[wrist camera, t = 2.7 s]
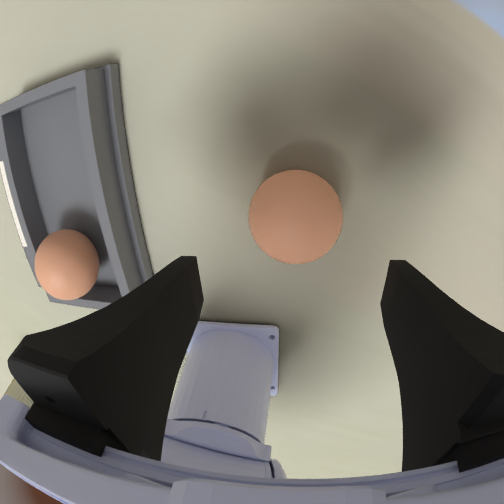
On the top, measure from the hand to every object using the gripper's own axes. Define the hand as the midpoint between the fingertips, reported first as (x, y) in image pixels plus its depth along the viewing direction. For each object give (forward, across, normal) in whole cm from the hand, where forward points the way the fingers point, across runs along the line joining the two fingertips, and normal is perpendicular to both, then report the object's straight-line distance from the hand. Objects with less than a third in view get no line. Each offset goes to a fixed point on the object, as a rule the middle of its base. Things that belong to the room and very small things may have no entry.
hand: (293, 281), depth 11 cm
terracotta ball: (+8, 0, 0) cm, 8 cm away
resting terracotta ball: (+7, +15, +3) cm, 17 cm away
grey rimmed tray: (+8, +17, -1) cm, 19 cm away
